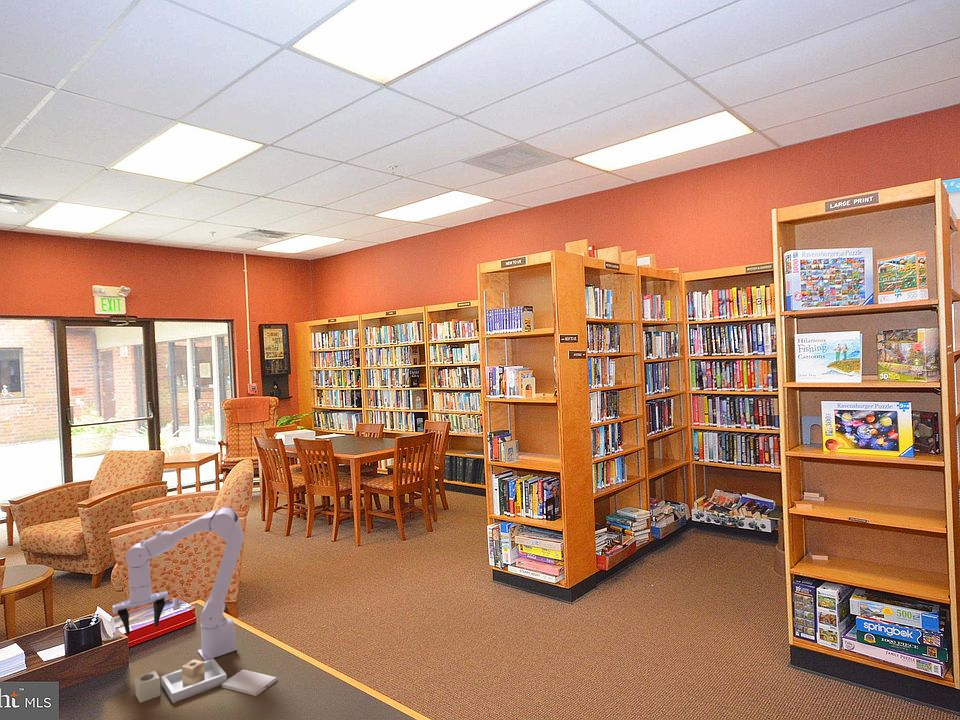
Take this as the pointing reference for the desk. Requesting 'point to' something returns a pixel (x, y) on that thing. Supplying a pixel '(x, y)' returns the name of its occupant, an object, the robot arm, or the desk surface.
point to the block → (193, 672)
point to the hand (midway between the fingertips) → (142, 629)
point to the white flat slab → (249, 682)
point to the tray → (181, 691)
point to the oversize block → (147, 686)
